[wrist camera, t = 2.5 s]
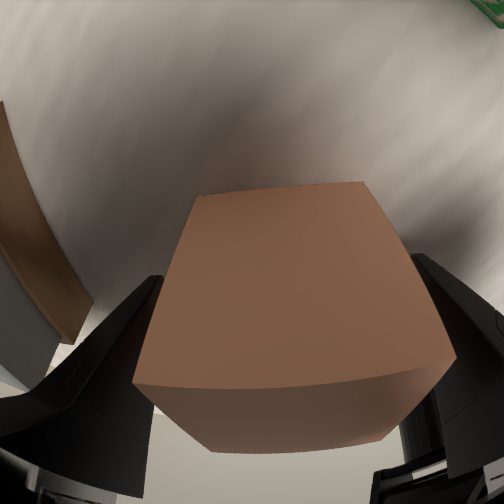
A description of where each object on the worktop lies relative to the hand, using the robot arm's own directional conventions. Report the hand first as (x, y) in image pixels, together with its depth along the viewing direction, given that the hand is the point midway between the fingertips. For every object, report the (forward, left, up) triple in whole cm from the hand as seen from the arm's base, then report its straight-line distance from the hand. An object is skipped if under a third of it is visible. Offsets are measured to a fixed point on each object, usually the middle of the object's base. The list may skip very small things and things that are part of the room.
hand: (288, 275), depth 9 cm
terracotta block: (0, 0, -1) cm, 1 cm away
